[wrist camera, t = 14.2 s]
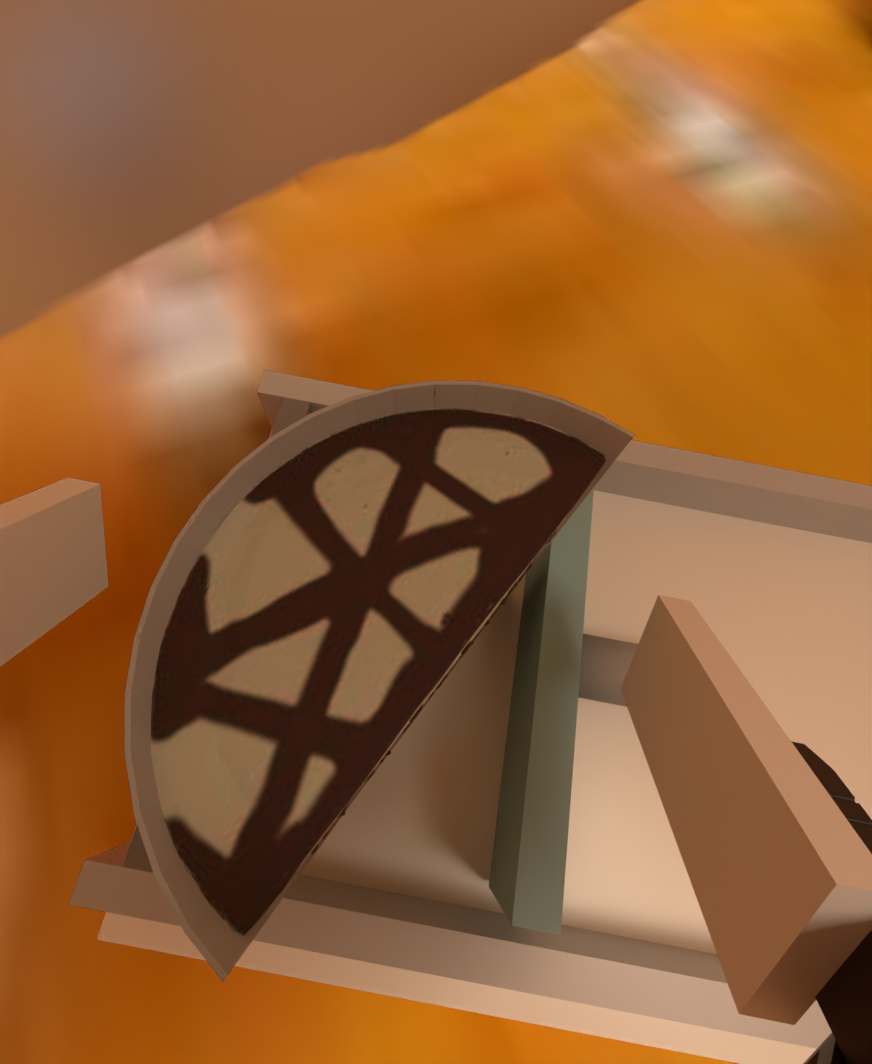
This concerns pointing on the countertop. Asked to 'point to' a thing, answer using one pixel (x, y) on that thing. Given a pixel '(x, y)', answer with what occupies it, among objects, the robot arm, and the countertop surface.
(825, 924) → the robot arm
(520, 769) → the pusher paddle
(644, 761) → the pusher lane
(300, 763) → the food container
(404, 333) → the countertop surface
